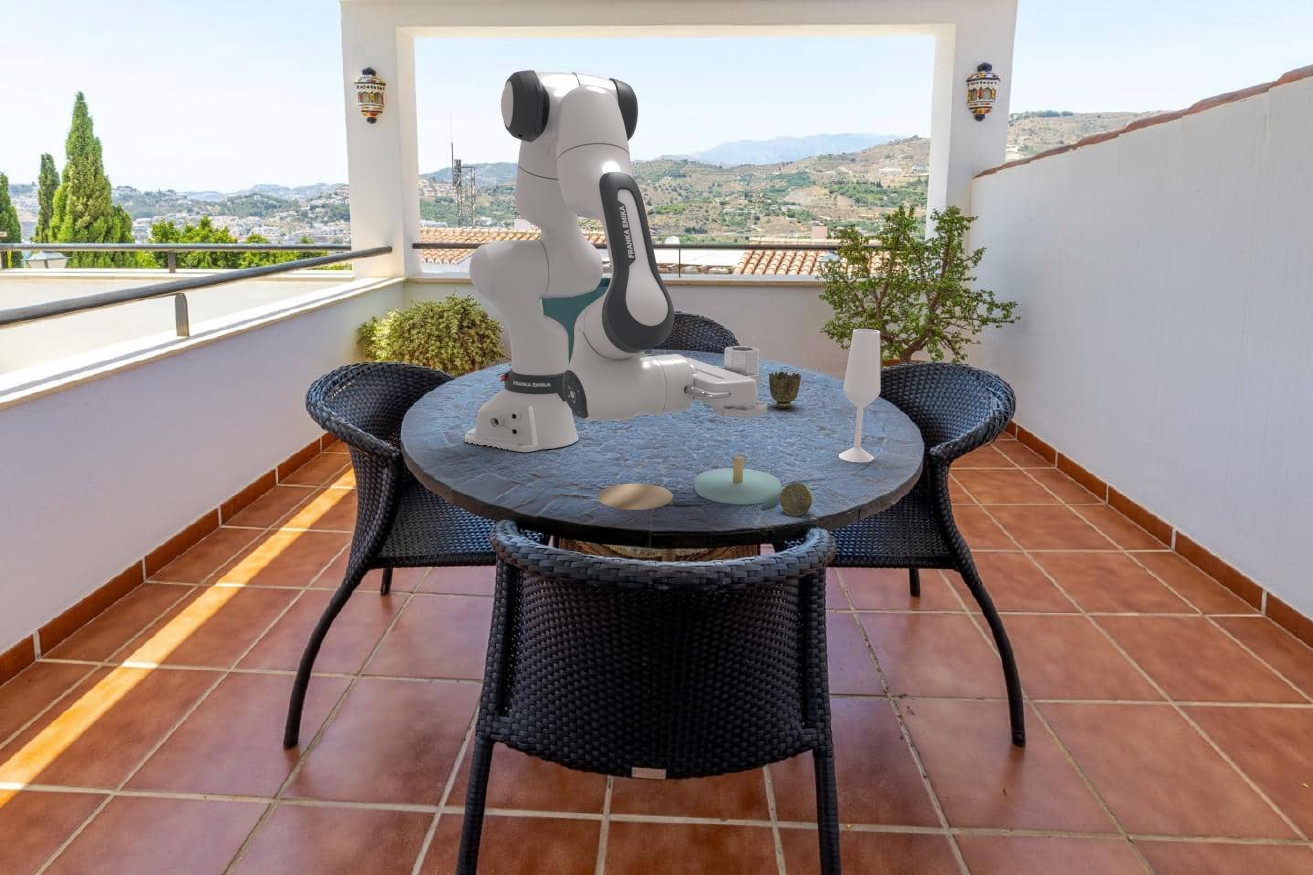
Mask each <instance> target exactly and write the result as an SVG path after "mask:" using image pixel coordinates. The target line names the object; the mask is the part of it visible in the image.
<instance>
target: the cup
mask: <svg viewBox="0 0 1313 875" xmlns="http://www.w3.org/2000/svg"><path fill="white" fill-rule="evenodd" d="M801 380H802V375H801V374H800V373H799V372H797V373H795V372H793V373H792V374H788V372H787V371H786V372H784V371H783V370H781V371H779V372H777V371H774V373H773V372H770V373H768V381H769V382H768V383H769V392H770V396H771V398H772V399H773V400H774V401H776V402H775V407H776V408H777V409H781V410H787V409H790V408H791V407H792V402H793V401H794V400H796V399H797V397H798V394H799V390H800V385H801Z"/></svg>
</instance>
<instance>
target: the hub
mask: <svg viewBox="0 0 1313 875" xmlns="http://www.w3.org/2000/svg"><path fill="white" fill-rule="evenodd" d="M732 466H733V467H730V468H729V467H727V468H726V467H725V468H724V467H722V468H717V469H711V470H706V471H704V472H701V473H699V474H698V475H697V476H695V478H694V491H695V493H697V495H699V496H700V497H702V498H704V499H707V500H710V501H713V502H717V503H721V504H728V505H757V504H762V503H763V504H762V505H761V507H760V511H762V510H766V509H770V508H772V507H774V506H776V505H777V504H778V503H779V504H780V494H781V492H782V489H781V488H782V483H781V480H780V479H779V478H778V477H776V476H775V475H773V474H771V473H767V472H765V471H761V470H756V469H751V468H750V469H749V468H744V457H742V456H734V457H733V465H732Z"/></svg>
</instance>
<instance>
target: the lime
mask: <svg viewBox="0 0 1313 875" xmlns="http://www.w3.org/2000/svg"><path fill="white" fill-rule="evenodd" d="M779 504H780V507H781V509H782V510H783V512H784V513H785V514H787V515H788V516H792V517H797V516H801V515H804V514H807V513H808V512H809V510H810V509H811V507H812V505H813V493H812V491H811V490H810V488H809V487H808V486H807V485H806V484H804V483H801V482H797V481H794V482H790V483H789V484H787V485H785V486H784V488H783V489H782V490H781V494H780V501H779Z"/></svg>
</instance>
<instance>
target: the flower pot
mask: <svg viewBox="0 0 1313 875" xmlns="http://www.w3.org/2000/svg"><path fill="white" fill-rule="evenodd" d="M610 281H611V277H602V279H601V281H600V283H599V285H598V287H597V288H596V289H595V290H594V291H593V292H590V293H586V294H583V295H579V296H575V297H565V298H545V299H541V304H542V305H541V306H542V313H543V315H546V316H548V317H550V318H552V319H554V320H556V321H558V322H559V323H561V324H562V325H563V326H564V327H565V329H566V331H567V333H568V340H569V363H570V360H571V357H572V353H573V347H574V334H573V330H574V324H575V321H576V318H577V317H578V315H579V314H580V313H581V312H582V311H583V310H584V309H585V308H586V307H587V306H588V305H590V304H591V303H592V302H594V301H595V300H596V299H598V298H600V297H601V296H602V295H604V294H605V292H606V291H607V289H608V287H609V284H610ZM652 350H653V348H652V349H649V350H646V351H644V353H645V354H652V352H653V351H652Z"/></svg>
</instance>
